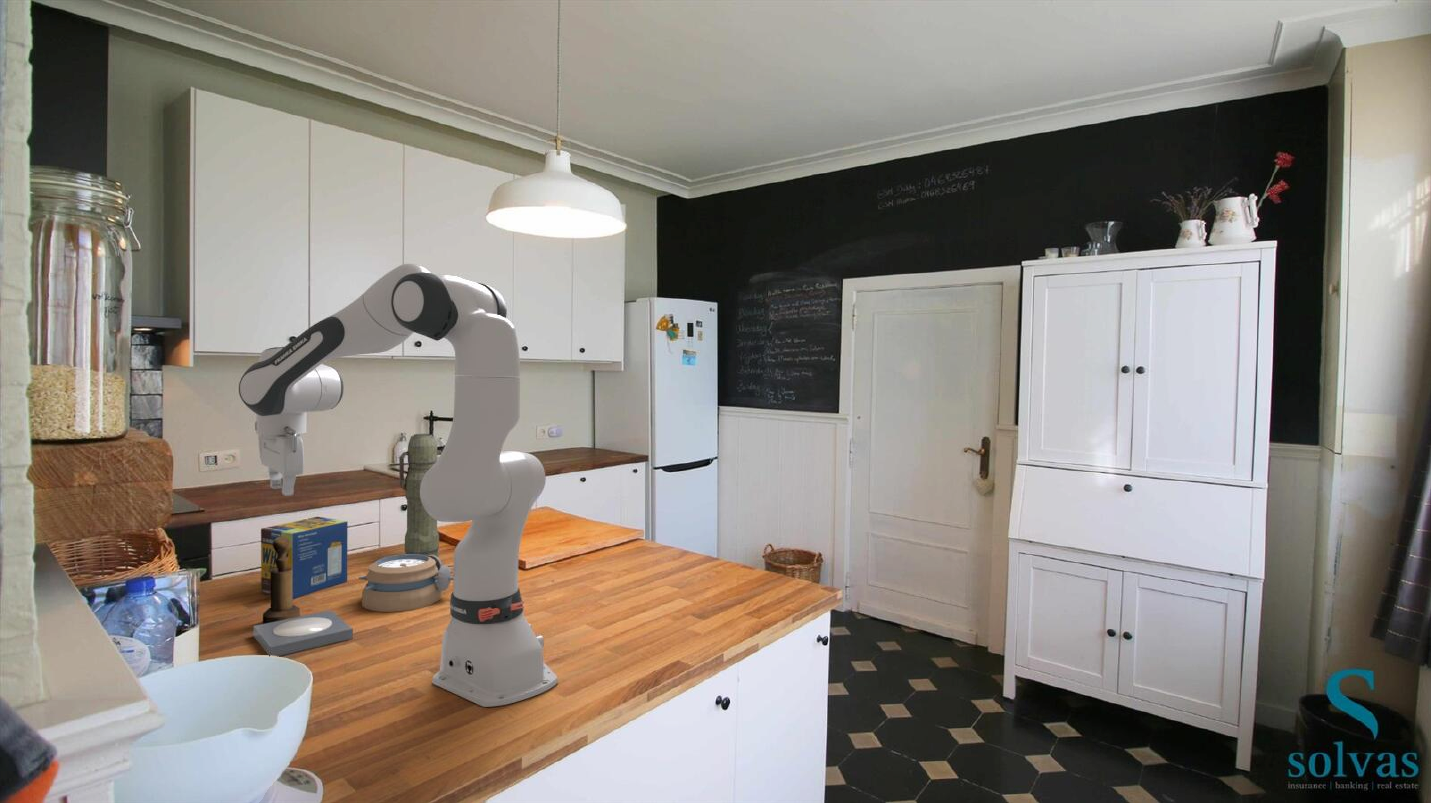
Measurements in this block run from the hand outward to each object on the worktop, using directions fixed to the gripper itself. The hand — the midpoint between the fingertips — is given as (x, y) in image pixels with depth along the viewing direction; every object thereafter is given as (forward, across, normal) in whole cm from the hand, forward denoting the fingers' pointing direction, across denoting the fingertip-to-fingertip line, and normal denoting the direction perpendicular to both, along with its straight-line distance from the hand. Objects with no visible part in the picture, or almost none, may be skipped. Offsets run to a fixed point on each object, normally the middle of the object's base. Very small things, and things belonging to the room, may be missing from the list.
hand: (281, 491), depth 144 cm
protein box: (+28, +22, -10) cm, 37 cm away
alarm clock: (+28, -2, -27) cm, 39 cm away
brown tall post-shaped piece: (+28, 0, 0) cm, 28 cm away
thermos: (+28, +30, -41) cm, 58 cm away
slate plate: (+28, -12, -1) cm, 30 cm away
